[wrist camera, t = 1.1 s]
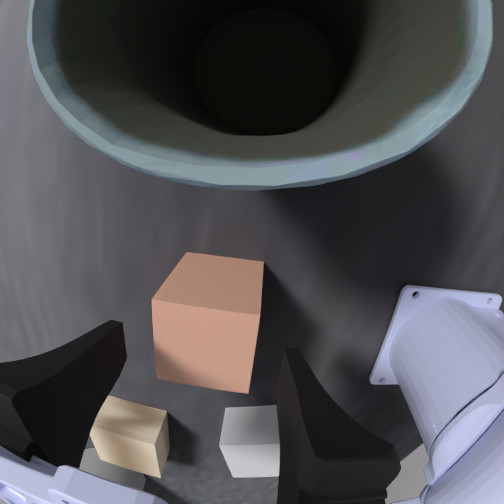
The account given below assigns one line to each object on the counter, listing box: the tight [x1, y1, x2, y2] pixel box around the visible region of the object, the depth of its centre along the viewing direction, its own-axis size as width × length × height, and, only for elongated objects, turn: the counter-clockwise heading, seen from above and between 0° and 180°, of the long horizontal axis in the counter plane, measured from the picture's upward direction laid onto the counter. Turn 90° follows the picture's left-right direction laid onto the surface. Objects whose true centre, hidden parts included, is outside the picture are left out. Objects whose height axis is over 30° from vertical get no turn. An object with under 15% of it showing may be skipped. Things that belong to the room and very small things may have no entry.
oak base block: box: [90, 395, 170, 478], centre depth 22 cm, size 6×6×4 cm
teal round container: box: [27, 0, 493, 191], centre depth 9 cm, size 10×10×12 cm
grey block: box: [219, 405, 280, 477], centre depth 21 cm, size 5×5×4 cm
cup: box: [79, 448, 146, 491], centre depth 23 cm, size 8×8×10 cm
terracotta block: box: [152, 252, 264, 394], centre depth 16 cm, size 4×4×6 cm
